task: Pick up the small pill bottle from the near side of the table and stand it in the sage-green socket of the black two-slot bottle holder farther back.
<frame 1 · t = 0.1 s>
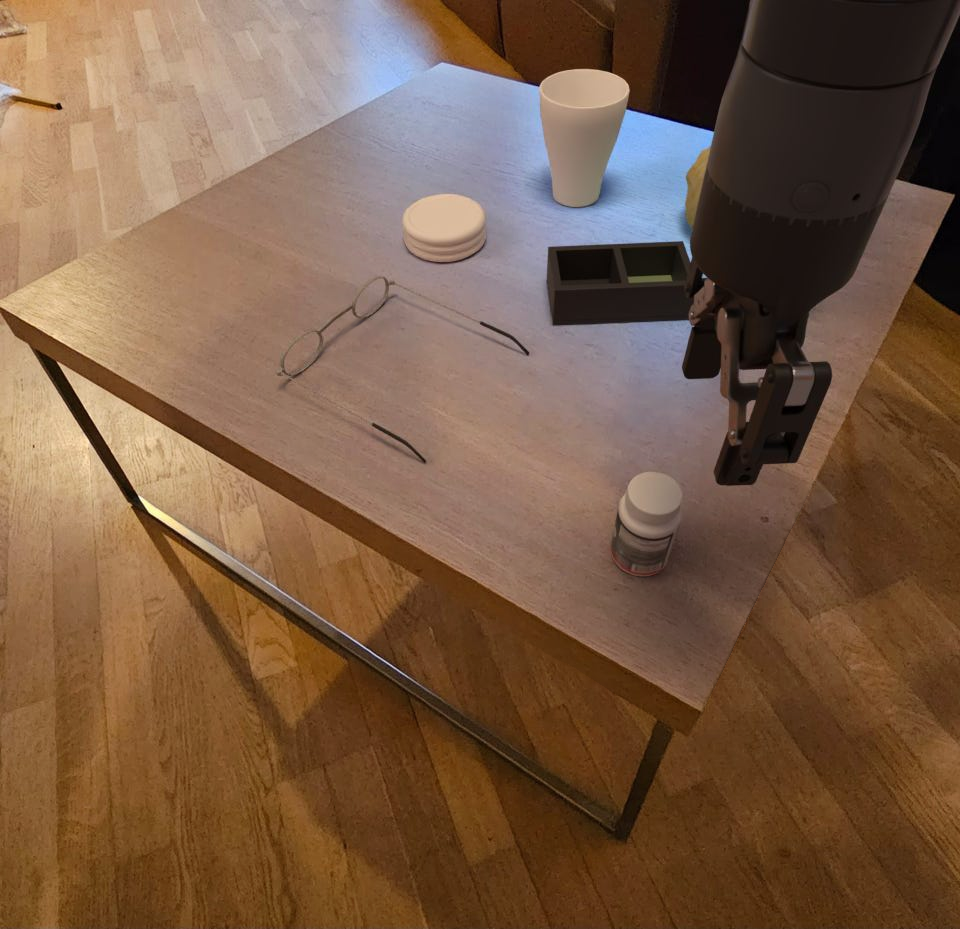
hand: (714, 424, 43), 18 cm above the table, tool pointing down, fingers open, 8 cm apart
beverage bottle: (764, 306, 79), on the table
eyeglasses: (406, 371, 74), on the table
seashell: (749, 233, 88), on the table
cup: (575, 196, 94), on the table
holder: (615, 300, 80), on the table
white jar lid: (445, 241, 89), on the table
pill bottle: (638, 554, 59), on the table
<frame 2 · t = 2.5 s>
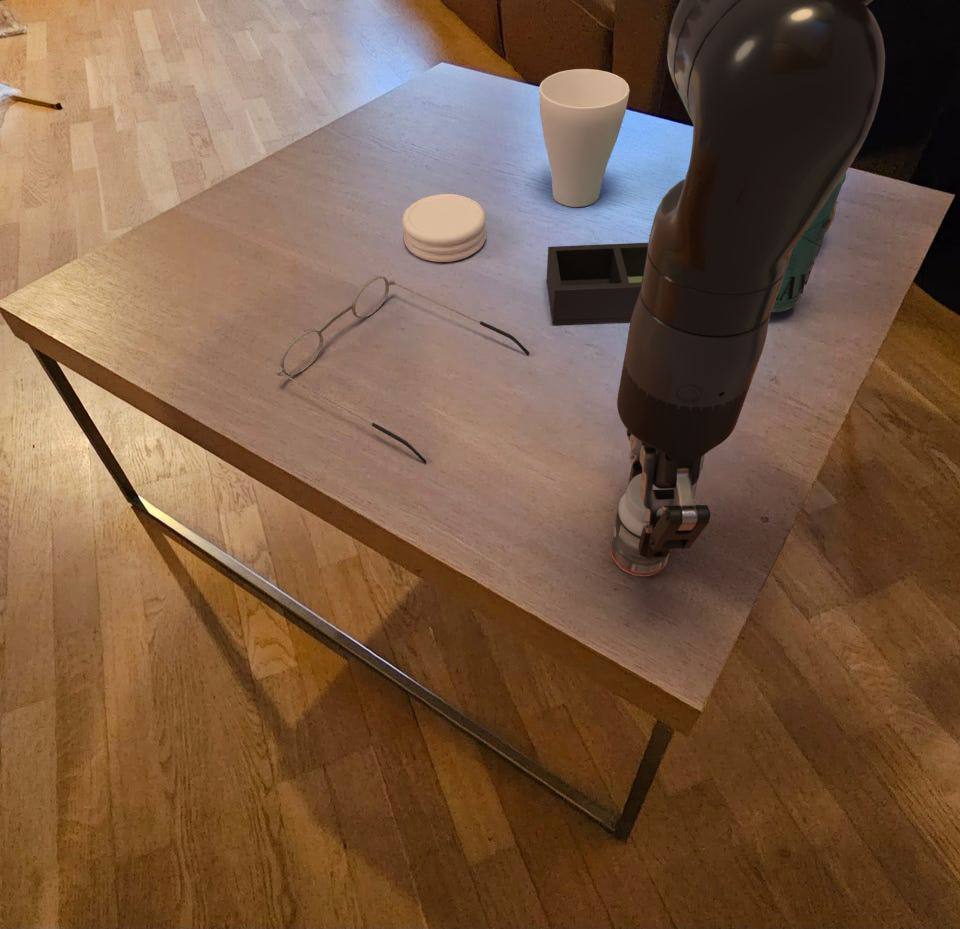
hand: (646, 522, 56), 4 cm above the table, tool pointing down, fingers closed on pill bottle, 4 cm apart
pill bottle: (638, 554, 59), on the table, touching gripper
everything else where it was.
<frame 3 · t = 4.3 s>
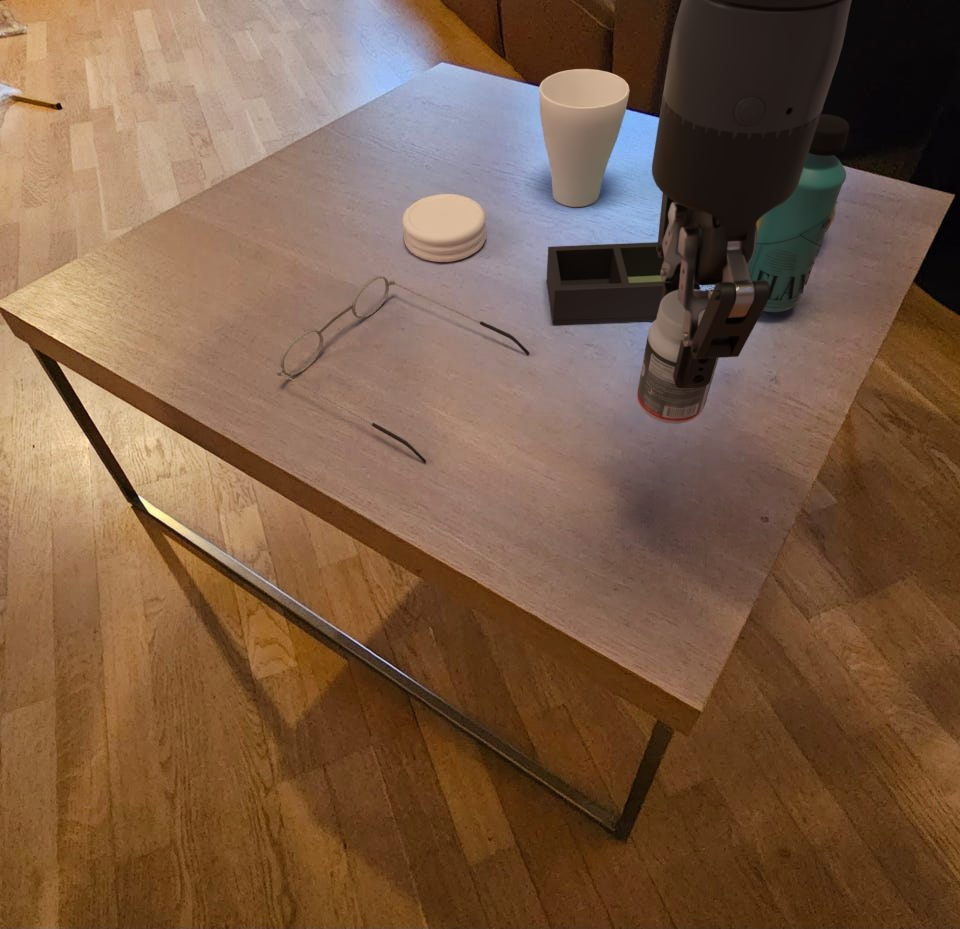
hand: (681, 354, 48), 18 cm above the table, tool pointing down, fingers closed on pill bottle, 4 cm apart
pill bottle: (669, 403, 51), point 13 cm above the table, touching gripper
everything else where it was.
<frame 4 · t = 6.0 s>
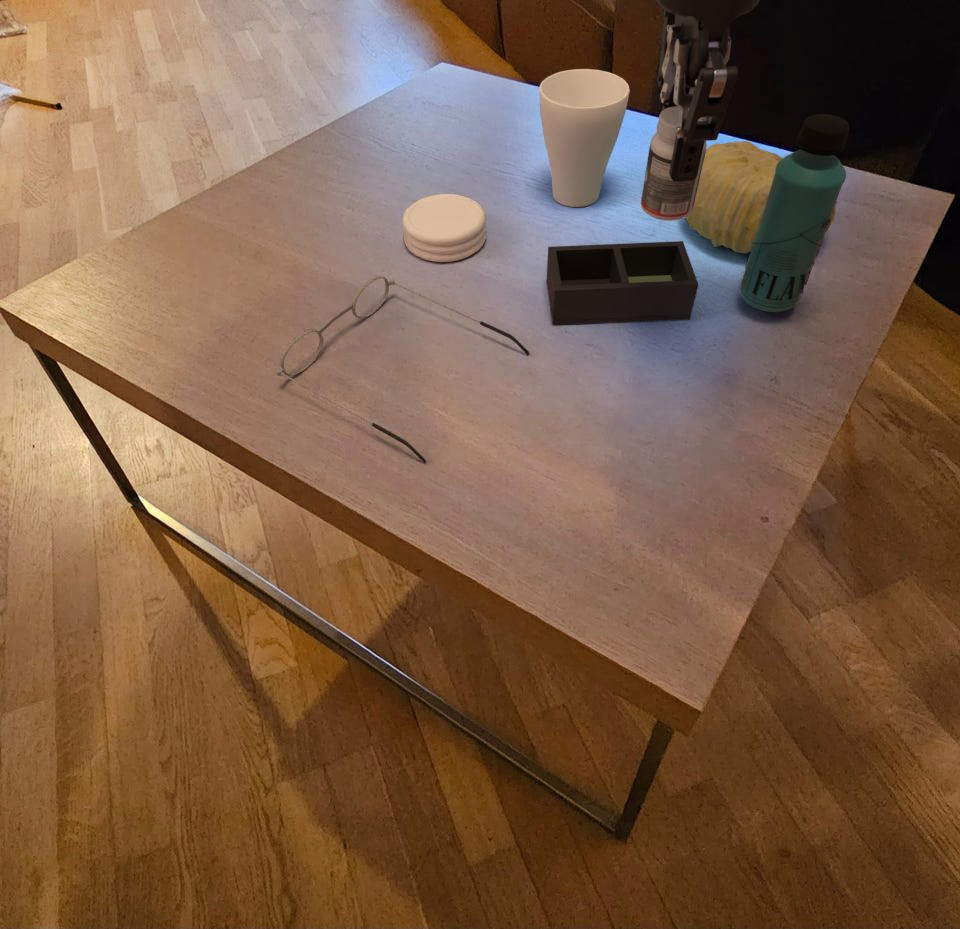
hand: (675, 161, 63), 18 cm above the table, tool pointing down, fingers closed on pill bottle, 4 cm apart
pill bottle: (665, 209, 66), point 14 cm above the table, touching gripper
everything else where it was.
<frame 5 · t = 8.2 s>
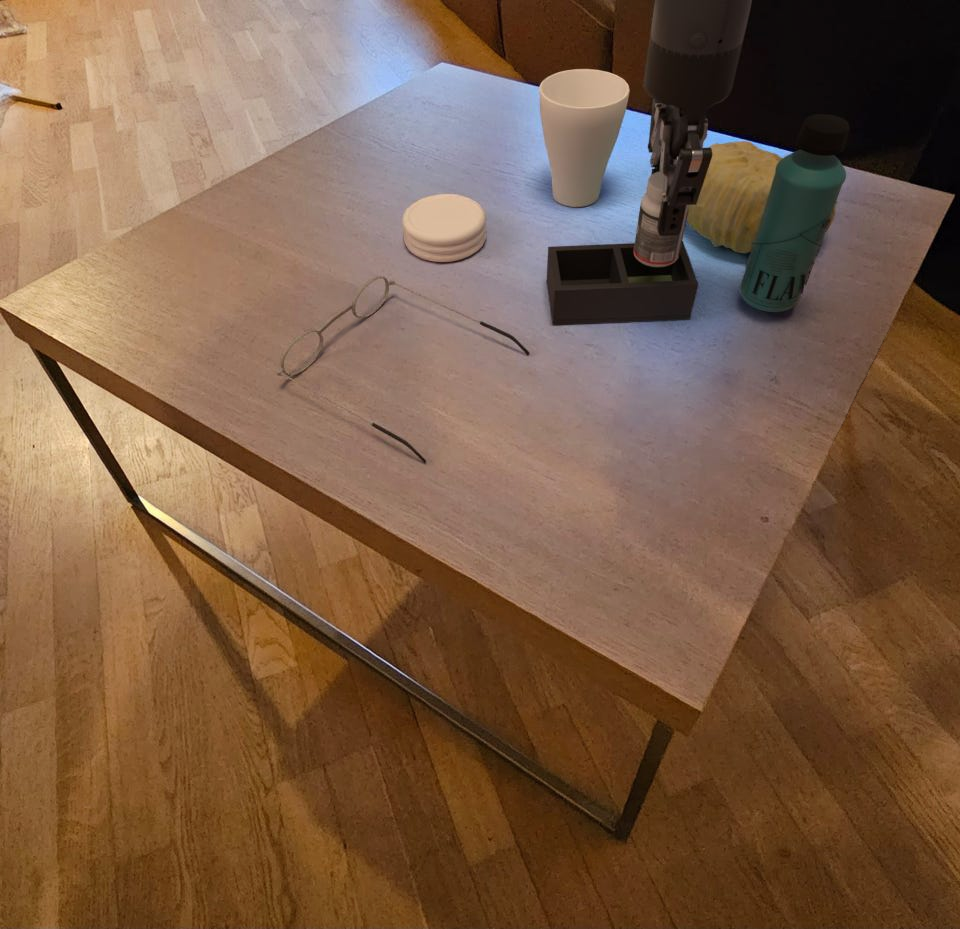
hand: (663, 217, 72), 10 cm above the table, tool pointing down, fingers closed on pill bottle, 4 cm apart
pill bottle: (655, 256, 76), point 5 cm above the table, touching gripper
everything else where it was.
when the fingers open (5 cm above the table, at t = 9.9 s): pill bottle stays where it is, resting on holder.
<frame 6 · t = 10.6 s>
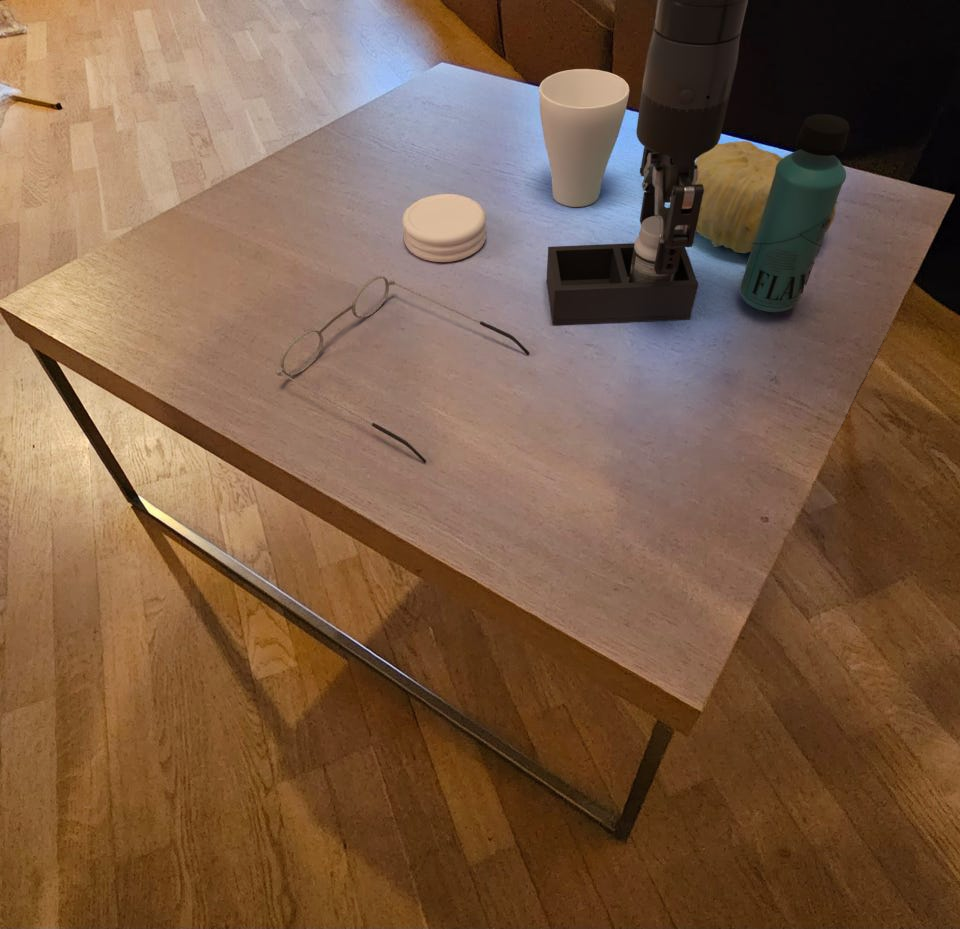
hand: (657, 247, 75), 7 cm above the table, tool pointing down, fingers open, 8 cm apart
pill bottle: (648, 294, 80), point 1 cm above the table, touching holder
everything else where it was.
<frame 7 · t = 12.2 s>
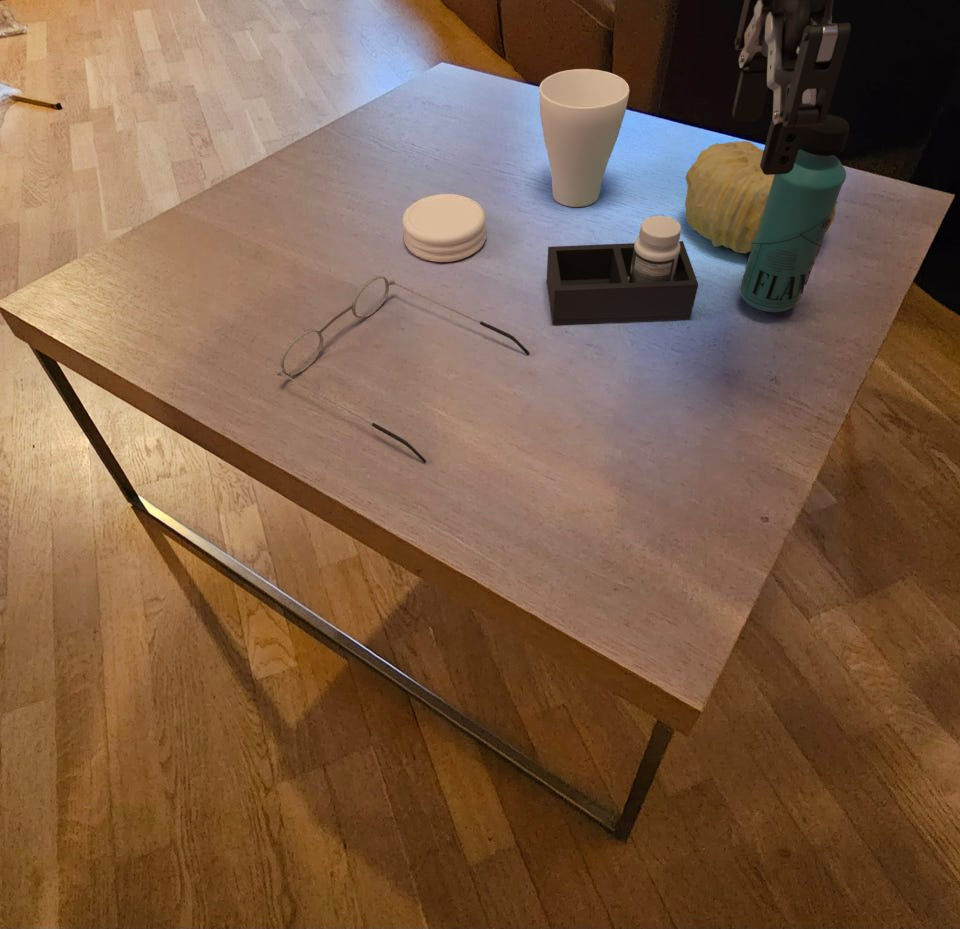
hand: (759, 144, 56), 23 cm above the table, tool pointing down, fingers open, 8 cm apart
nothing on the table moved.
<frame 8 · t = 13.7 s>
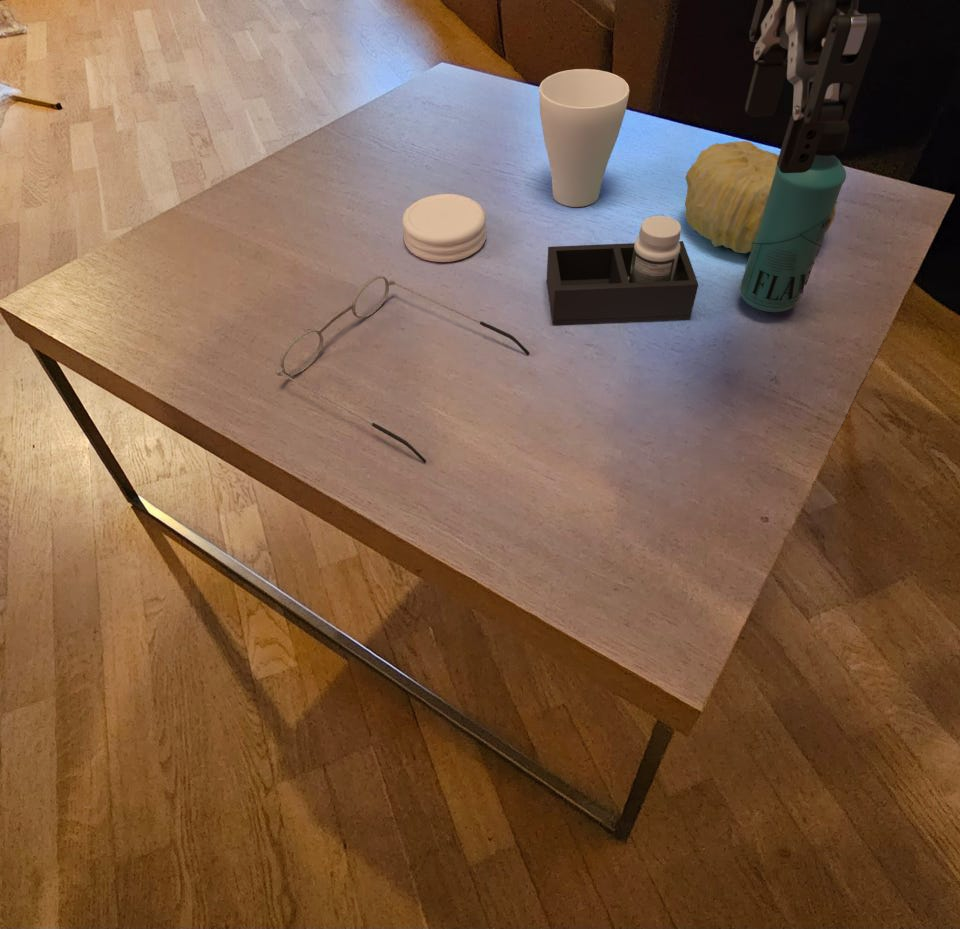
hand: (774, 141, 53), 24 cm above the table, tool pointing down, fingers open, 8 cm apart
nothing on the table moved.
at the end: pill bottle 0.1 cm from the target spot in the holder, point 0.6 cm above the holder's base; pill bottle tilted 0°; the gripper is holding nothing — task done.
